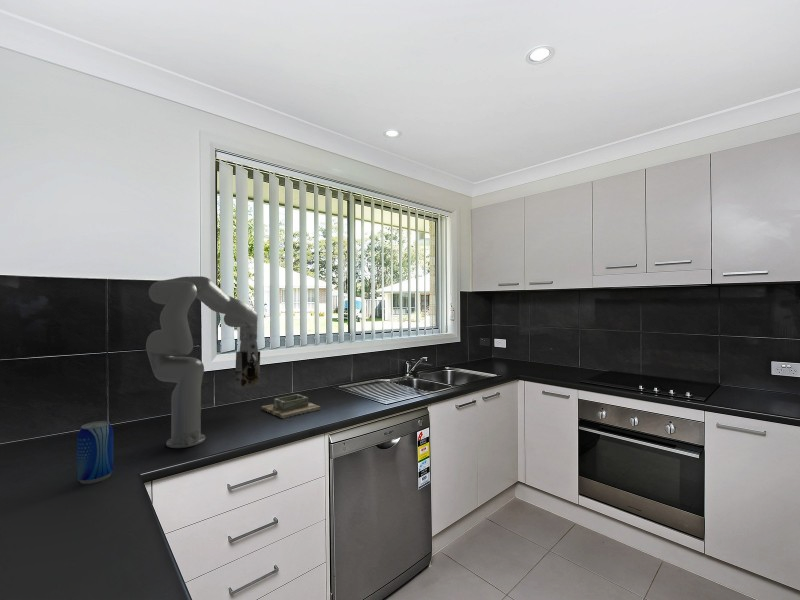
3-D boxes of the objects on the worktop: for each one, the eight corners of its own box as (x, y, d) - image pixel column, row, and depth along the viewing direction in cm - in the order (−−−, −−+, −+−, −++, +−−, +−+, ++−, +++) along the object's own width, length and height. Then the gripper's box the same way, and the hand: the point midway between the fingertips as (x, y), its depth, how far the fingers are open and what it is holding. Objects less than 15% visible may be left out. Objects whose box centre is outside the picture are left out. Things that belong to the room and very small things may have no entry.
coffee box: (241, 388, 170) (242, 352, 171) (234, 386, 174) (235, 351, 174) (260, 385, 177) (260, 351, 178) (252, 383, 181) (253, 350, 182)
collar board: (320, 409, 183) (320, 398, 183) (282, 418, 168) (282, 406, 168) (298, 401, 197) (298, 391, 197) (261, 409, 182) (261, 398, 182)
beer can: (71, 481, 110) (71, 426, 110) (104, 469, 117) (104, 418, 117) (85, 487, 106) (85, 431, 106) (118, 475, 113) (119, 422, 113)
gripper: (264, 338, 173) (264, 377, 172) (248, 336, 185) (247, 372, 185) (248, 338, 168) (247, 379, 167) (232, 336, 180) (231, 374, 179)
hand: (247, 375), depth 176 cm, fingers closed on coffee box, 6 cm apart
